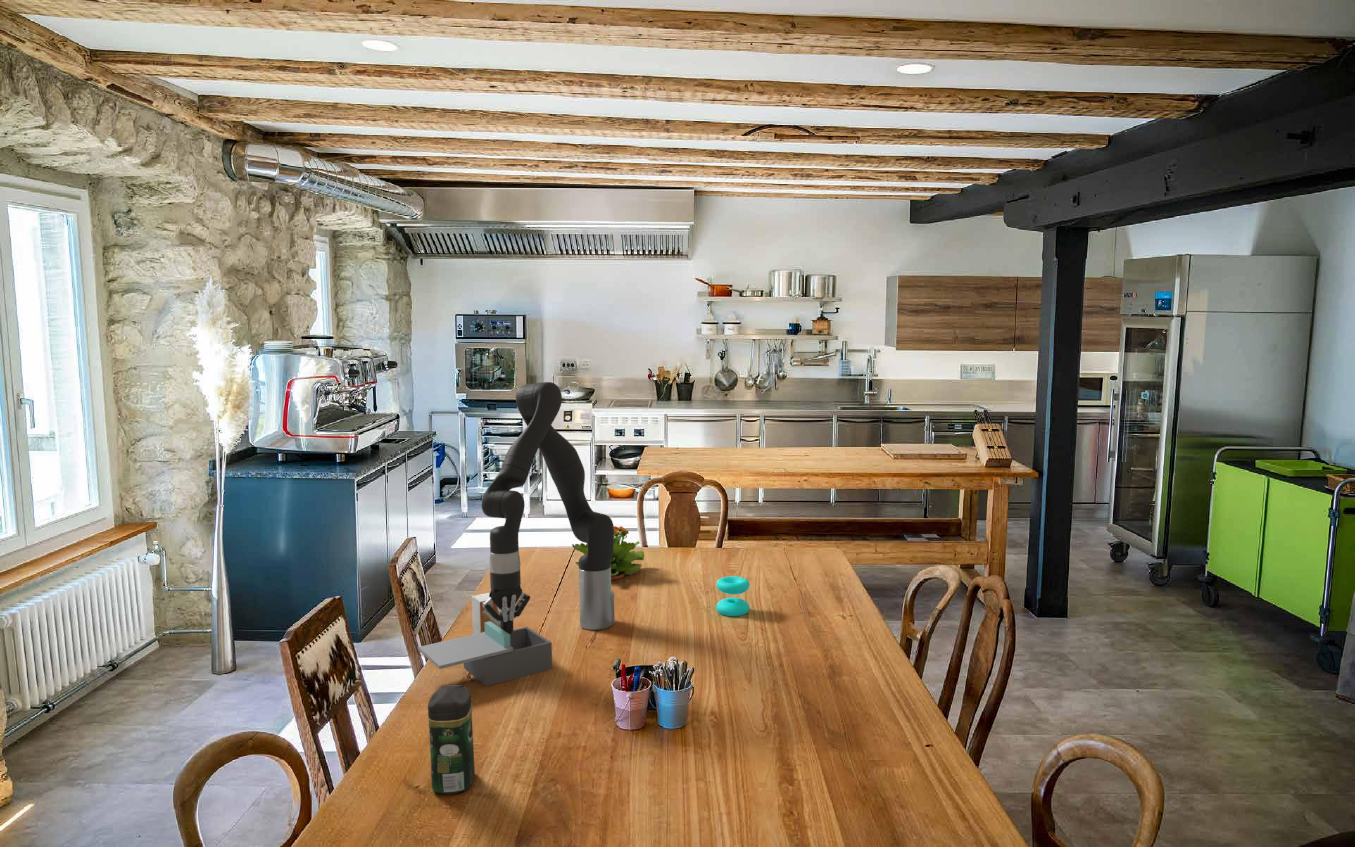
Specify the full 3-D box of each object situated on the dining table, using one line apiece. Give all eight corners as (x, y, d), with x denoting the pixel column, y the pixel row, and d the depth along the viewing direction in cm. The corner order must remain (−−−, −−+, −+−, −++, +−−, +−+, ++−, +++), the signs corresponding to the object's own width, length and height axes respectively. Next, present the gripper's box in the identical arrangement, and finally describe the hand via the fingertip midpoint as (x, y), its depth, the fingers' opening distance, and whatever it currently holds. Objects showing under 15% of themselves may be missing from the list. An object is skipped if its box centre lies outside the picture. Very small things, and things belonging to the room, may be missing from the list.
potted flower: (640, 588, 289) (640, 536, 287) (569, 588, 289) (567, 536, 287) (644, 566, 314) (644, 518, 312) (578, 566, 314) (577, 518, 312)
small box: (481, 648, 238) (479, 601, 236) (472, 640, 243) (470, 595, 242) (509, 641, 242) (507, 596, 241) (500, 634, 248) (498, 590, 246)
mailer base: (528, 651, 235) (527, 626, 234) (552, 668, 224) (551, 642, 223) (463, 667, 225) (462, 641, 224) (485, 686, 214) (484, 658, 213)
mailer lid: (489, 633, 228) (488, 619, 228) (513, 650, 217) (513, 636, 216) (418, 649, 218) (417, 635, 217) (439, 669, 206) (438, 653, 205)
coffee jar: (436, 771, 174) (433, 681, 172) (477, 769, 175) (474, 679, 172) (427, 797, 164) (423, 703, 162) (470, 795, 165) (466, 701, 163)
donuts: (753, 576, 267) (743, 586, 258) (753, 608, 268) (743, 619, 259) (722, 573, 271) (711, 582, 262) (722, 604, 272) (711, 615, 263)
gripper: (522, 560, 228) (524, 624, 230) (474, 569, 220) (476, 635, 222) (535, 566, 222) (537, 632, 224) (486, 576, 214) (488, 644, 216)
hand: (507, 634), depth 223 cm, fingers closed
